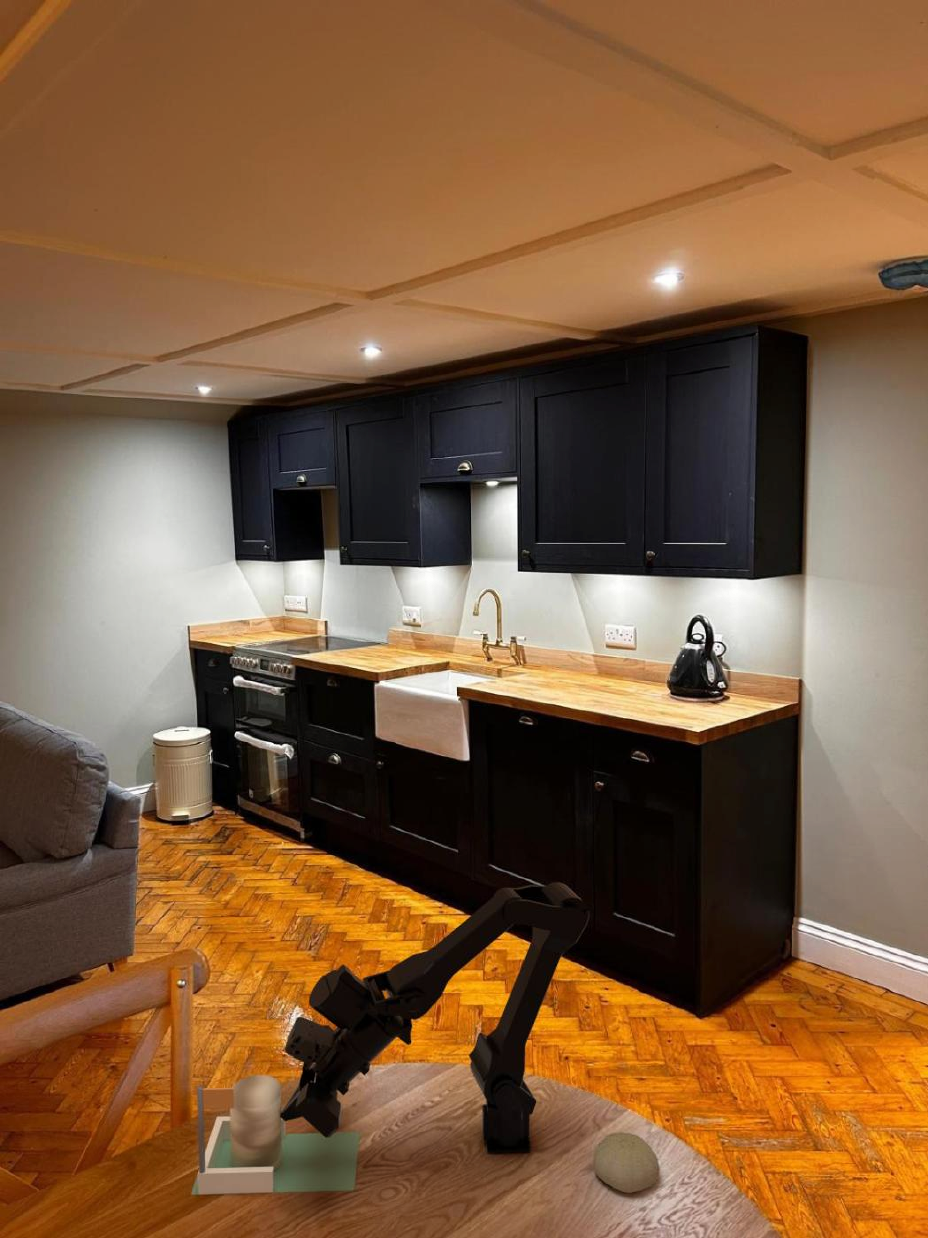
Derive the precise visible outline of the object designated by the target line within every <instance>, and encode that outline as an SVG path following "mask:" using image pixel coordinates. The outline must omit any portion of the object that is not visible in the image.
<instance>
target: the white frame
mask: <svg viewBox="0 0 928 1238" xmlns="http://www.w3.org/2000/svg"><path fill="white" fill-rule="evenodd" d="M196 1092H197V1093H196V1099H197V1100H196V1102H197V1136H198V1140H197V1141H198V1142H197V1143H198V1144H197V1145H198V1171H197V1175H198V1194H208V1195H232V1194H231V1193H244V1194H268V1193H267V1192H273V1189H274V1167H242V1168H214V1167H215V1163H216V1160H217V1157H218V1154H219V1151H220V1148H221V1145H222V1141H223V1140H231V1129H230V1115H229V1116H217V1117H216V1119H215V1122H214V1125H213V1127H212V1131H211V1133H210V1136H209V1139H208V1142H207V1145H205V1144H206V1143H205V1111H204V1110H230V1109H234V1088H232V1087H217V1088H216V1087H215V1088H213V1087H212V1088H210V1087H207V1088H206V1087H205V1088H204V1086H202V1085H199V1086H197V1088H196ZM285 1134H287V1133H286V1121H284V1120H283V1119H282V1118H281V1139H283V1138H285Z"/></svg>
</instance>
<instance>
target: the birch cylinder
mask: <svg viewBox="0 0 928 1238" xmlns="http://www.w3.org/2000/svg"><path fill="white" fill-rule="evenodd" d="M231 1088H234V1109H229V1116H230V1129H231V1168H242V1167H274V1172H275V1171H277V1169H278V1168H279V1167H280V1165H281V1162H282V1140H281V1117H280V1116H281V1112H282V1093H281V1092H282V1091H281V1090H282V1089H281V1088H282V1087H281V1083H280V1081H279V1080H278V1079H277V1078H275V1077H274V1076H273V1077H272V1076H270V1075H266V1074H257V1075H255V1074H254V1075H250V1076H246V1077H244V1078H242V1079H239V1080H238V1081H237V1082H234V1084H233V1085H232V1086H231Z"/></svg>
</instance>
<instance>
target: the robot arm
mask: <svg viewBox="0 0 928 1238" xmlns="http://www.w3.org/2000/svg"><path fill="white" fill-rule="evenodd" d="M589 918H590V911H589V908H588V906H587V903H585V901H584V900H583V899H581V897H579V896H578V895H577V894H576V893H575V892H574V891H573V890H572V888H570V887H569V886H567V885H566V884H565V883H563V882H558V881H557V882H556V881H555V882H551V883H549V884H546V885H541V884H540V885H537V884H530V885H525V886H521V887H502V888H500V889H498V890H496V892H495V893H494V894H493V897H492V898H490V899H489V900H488V901H486V902H485V904H483V905H482V906H481V907H479V909H477V910H476V911H475V912H474V913H472V914H471V915H470V916H468V918H466V919H465V920H464V921H463V922H462V923H461V924H459V925H458V926H457V927H456V928H455V929H453V930H452V931H451V932H450V933H448V934H447V935H446V936H445V937H443V939H442V940H440V941H439V942H438V943H436V945H434V946H433V947H431V948H430V949H428V950H425V951H421V952H418V953H415V954H412V955H410V956H408V957H407V958H405V959H403V960H402V961H400V962H398V963H396V964H395V965H394V966H392V967H391V968H390V969H389V970H386V971H382V972H379V973H376V974H372V975H368V976H366V977H362V978H363V979H360V978H359V977H358V976H357V975H356V974H354V973H353V972H352V970H351V969H350V968H349V967H348V966H347V965H345V964H341V965H340V966H339V967H338V969H337V970H336V969H333V970H331V971H329V972H327V973H325V975H321V977H320V978H319V979H318V981H317V982H316V983H315V984H314V986H313V988H312V990H311V992H310V994H309V997H308V1005H309V1006H310V1008H312V1009H313V1010H314V1011H316V1012H317V1013H318V1014H320V1015H321V1016H323V1017H324V1018H325V1019H326V1020H327V1021H329V1022H330V1023H332V1024H333V1025H334V1026H336V1028H335V1029H334V1028H332V1027H331V1026H330V1025H328V1024H323V1025H322V1024H320V1023H319V1022H318V1023H317V1022H315V1021H313V1020H311V1019H308V1018H305V1017H303V1016H298V1017H296V1019H295V1021H294V1023H293V1025H292V1027H291V1030H290V1031H289V1032H288V1033H289V1034H288V1036H287V1039H286V1043H285V1046H284V1052H285V1053H286V1054H288V1055H289V1056H291V1057H293V1058H294V1059H295V1060H297V1061H300V1062H302V1064H303V1065H302V1069H301V1072H302V1073H301V1074H300V1078H299V1082H298V1083H299V1084H298V1085H297V1087H296V1088H295V1090H294V1091H293V1093H292V1095H291V1096H290V1098H289V1100H288V1101H287V1103H286V1104H285V1106H284V1107H283V1109H282V1110H281V1116H280V1117H281V1118H282V1119H283V1120H284V1121H285V1122H289V1121H292V1120H295V1119H300V1118H303V1119H304V1120H306V1121H307V1123H309V1124H310V1125H311V1126H312V1127H314V1129H315V1130H316V1131H318V1133H321V1134H322V1135H323V1136H324V1137H326V1138H329V1137H330V1136H331V1135H332V1134H333V1133H337V1131H338V1130H339V1129H340V1122H341V1116H342V1115H341V1114H342V1103H341V1101H339V1100H338V1097H339V1093H340V1094H341V1095H342V1096H345V1095H346V1094H347V1093H348V1092H349V1089H350V1083H351V1082H352V1081H353V1080H355V1078H356V1077H357V1076H358V1075H359V1074H362V1075H363V1076H366V1075H367V1074H368V1072H370V1069H371V1068H370V1067H371V1062H373V1061H374V1060H375V1059H376V1058H377V1057H378V1056H379V1055H380V1054H381V1053H382V1052H383V1051H384V1050H385V1049H386V1048H387V1047H389V1045H390V1044H391V1043H393V1042H394V1041H395V1040H396V1039H399V1040H401V1041H402V1042H403V1043H404V1044H405V1045H407V1046H409V1045H411V1044H412V1029H413V1023H412V1020H413V1021H416V1020H419V1019H420V1018H422V1017H424V1016H426V1014H427V1013H428V1012H429V1011H430V1010H431V1009H432V1008H433V1006H434V1005H435V1004H436V1003H437V1002H439V1000H440V999H441V998H442V995H443V994H444V992H445V989H446V988H447V985H448V983H449V982H450V981H451V979H452V978H453V977H455V975H456V974H457V973H459V971H461V970H462V969H463V968H464V967H466V966H467V965H468V964H469V963H470V962H471V961H473V960H474V959H475V958H476V957H478V955H480V954H481V953H482V952H483V951H485V949H487V948H488V947H489V946H490V945H492V944H493V943H494V942H495V941H496V940H497V939H498V938H500V937H501V936H502V935H503V934H504V933H505V932H507V931H508V930H509V929H510V928H511V927H513V926H514V925H519V926H520V925H521V926H528V927H532V936H531V937H532V938H531V942H530V944H529V946H528V950H527V952H526V953H525V956H524V960H523V961H522V964H521V966H520V969H519V970H518V971H519V972H518V974H517V976H516V978H515V981H514V983H513V985H512V986H513V987H512V989H511V991H510V994H509V997H508V999H507V1000H506V1004H505V1005H504V1009H503V1011H502V1012H501V1013H502V1014H501V1016H500V1019H499V1021H498V1022H497V1025H496V1027H495V1029H493V1030H492V1031H491V1032H490V1033H488V1034H484V1033H483V1032H479V1033H478V1034H477V1038H476V1041H475V1046H474V1048H473V1049H472V1051H470V1053H469V1054H468V1058H469V1059H470V1063H469V1064H470V1065H469V1066H470V1067H469V1068H470V1071H471V1074H472V1076H473V1078H474V1079H475V1081H476V1084H477V1085H478V1087H479V1089H480V1090H481V1092H482V1094H483V1096H484V1098H485V1104H482V1107H481V1131H482V1141H483V1142H485V1144H486V1147H485V1148H486V1152H487V1153H488V1154H505V1153H506V1154H508V1153H515V1154H516V1153H530V1152H532V1146H531V1145H532V1143H531V1138H530V1127H531V1126H530V1121H531V1120H530V1118H531V1117H530V1116H531V1115H532V1114H533V1113H534V1110H535V1107H536V1104H537V1100H536V1098H535V1096H534V1095H533V1093H532V1092H531V1091H532V1090H531V1089H530V1088H529V1086H528V1085H527V1084H526V1083H527V1082H525V1080H524V1075H525V1071H526V1045H527V1042H528V1039H529V1038H530V1035H531V1032H532V1029H533V1027H534V1024H535V1022H536V1020H537V1017H538V1014H539V1012H540V1010H541V1007H542V1005H543V1002H544V999H545V997H546V995H547V993H548V990H549V987H550V986H551V982H552V981H553V978H554V976H555V973H556V970H557V967H558V964H559V962H560V960H561V957H562V955H563V954H564V953H565V952H567V951H568V950H570V948H572V947H573V946H575V944H577V942H578V941H579V939H580V937H581V935H582V933H583V932H584V930H585V928H586V927H587V925H588V924H589V923H588V922H589V920H590V919H589ZM384 992H386V994H387V996H388V997H386V996H385V995H384Z"/></svg>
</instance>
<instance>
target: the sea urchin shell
mask: <svg viewBox="0 0 928 1238" xmlns="http://www.w3.org/2000/svg"><path fill="white" fill-rule="evenodd" d="M657 1157H658V1156H657V1155H656V1153H655V1151H653V1149H652V1147H651V1146H650V1144H649V1143H647V1141H645V1140H644V1139H643V1137H641V1136H639V1135H637V1134H633V1133H631V1132H623V1131H622V1132H621V1131H619V1132H612V1133H610V1134H607V1135H606V1136H605V1137H604V1138H603V1139H602V1140H600V1142H599V1143H598V1145H597V1147H596V1149H595V1151H594V1153H593V1168H594V1172H595V1173H596V1175H597V1177H598V1178H599V1179H600V1180H602V1181H603V1182H604V1184H607V1185H609V1186H610V1187H612V1188H613V1189H615V1190H619V1191H620V1192H622V1193H628V1194H631V1193H634V1192H635V1191H636V1192H641V1191H643V1190H645V1189H647V1187H649V1186H650V1187H651V1186H652V1185H653V1184H654V1183H656V1182H657V1180H658V1177H659V1175H660V1166H659V1165H660V1164H659V1159H658V1158H657ZM650 1187H649V1188H650ZM644 1188H645V1189H644ZM640 1190H641V1191H640ZM636 1192H635V1193H636Z"/></svg>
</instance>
